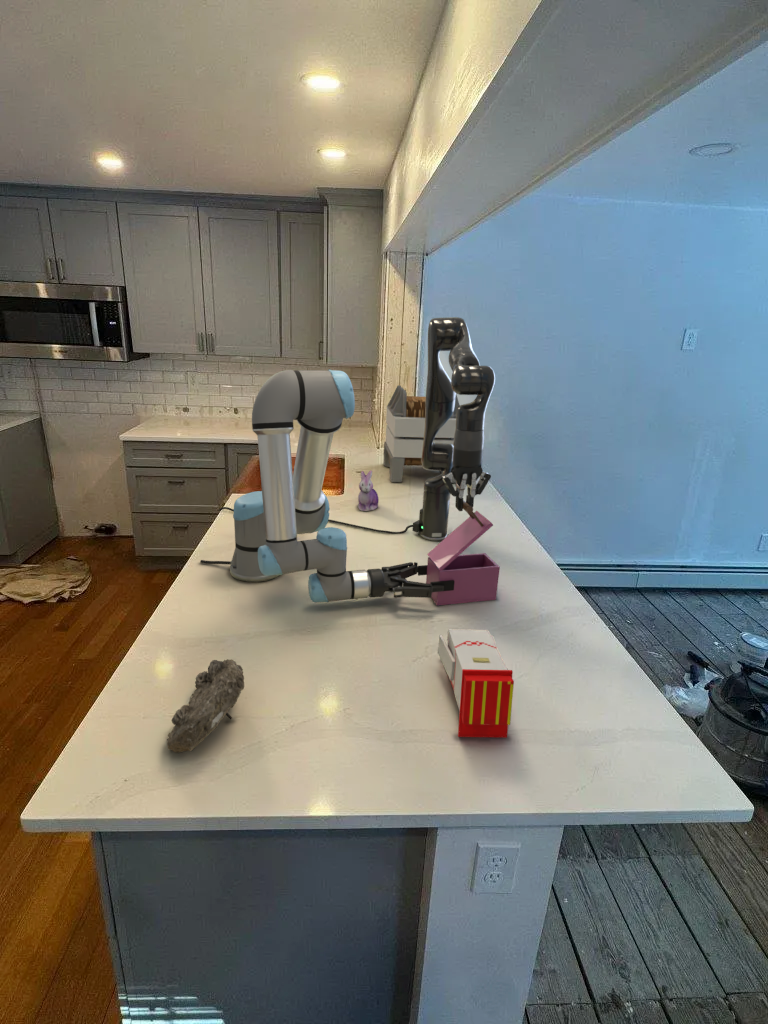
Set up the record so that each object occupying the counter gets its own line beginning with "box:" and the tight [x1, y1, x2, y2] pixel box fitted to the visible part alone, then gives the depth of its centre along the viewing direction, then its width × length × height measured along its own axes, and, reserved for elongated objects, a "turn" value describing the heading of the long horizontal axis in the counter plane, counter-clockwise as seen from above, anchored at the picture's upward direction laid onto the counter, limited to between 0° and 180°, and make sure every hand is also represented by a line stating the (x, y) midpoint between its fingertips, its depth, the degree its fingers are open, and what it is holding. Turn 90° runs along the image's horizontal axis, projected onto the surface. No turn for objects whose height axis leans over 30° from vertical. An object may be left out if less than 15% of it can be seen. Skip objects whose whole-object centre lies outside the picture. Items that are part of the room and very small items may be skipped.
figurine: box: [357, 470, 380, 512], centre depth 221 cm, size 9×10×15 cm
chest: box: [425, 552, 501, 607], centre depth 157 cm, size 18×9×10 cm, turn 106°
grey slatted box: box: [383, 384, 461, 484], centre depth 268 cm, size 34×33×41 cm
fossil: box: [166, 658, 245, 754], centre depth 106 cm, size 22×10×15 cm
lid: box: [426, 499, 494, 571], centre depth 151 cm, size 18×9×8 cm
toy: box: [437, 628, 515, 738], centre depth 117 cm, size 12×13×30 cm
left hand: (446, 576), depth 156 cm, fingers closed on chest, 9 cm apart
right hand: (464, 509), depth 150 cm, fingers closed on lid, 2 cm apart
